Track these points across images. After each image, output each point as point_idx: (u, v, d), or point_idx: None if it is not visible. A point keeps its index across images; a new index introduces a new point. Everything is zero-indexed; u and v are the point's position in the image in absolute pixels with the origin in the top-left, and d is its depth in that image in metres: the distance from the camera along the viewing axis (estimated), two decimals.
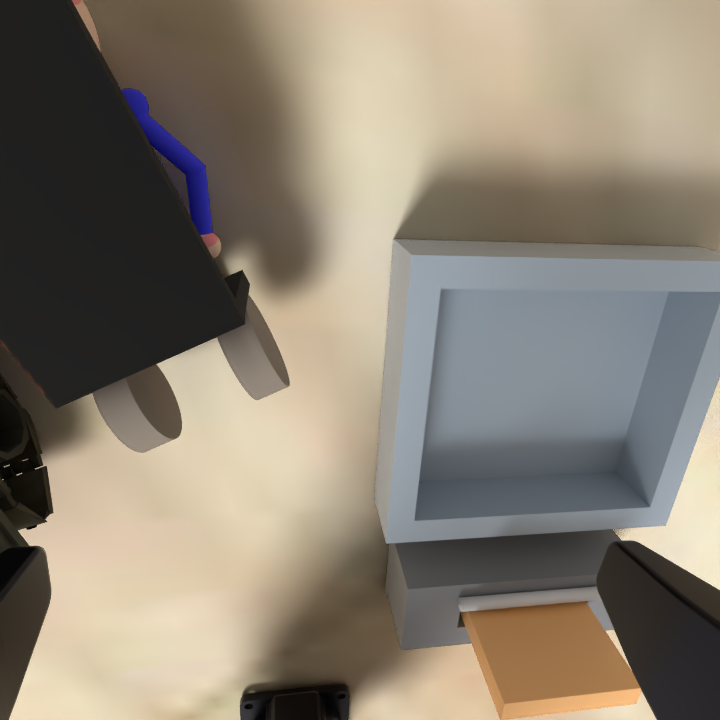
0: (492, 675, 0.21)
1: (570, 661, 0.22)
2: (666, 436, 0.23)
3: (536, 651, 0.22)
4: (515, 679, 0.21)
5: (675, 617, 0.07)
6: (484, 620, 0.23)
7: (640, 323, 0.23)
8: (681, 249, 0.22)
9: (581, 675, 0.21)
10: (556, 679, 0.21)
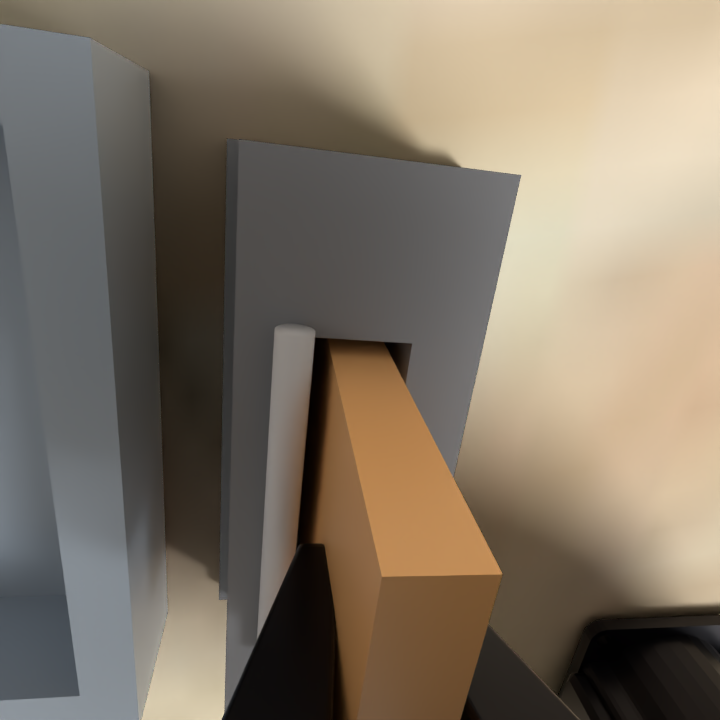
0: None
1: None
2: None
3: None
4: None
5: None
6: None
7: None
8: None
9: (341, 679, 0.05)
10: None
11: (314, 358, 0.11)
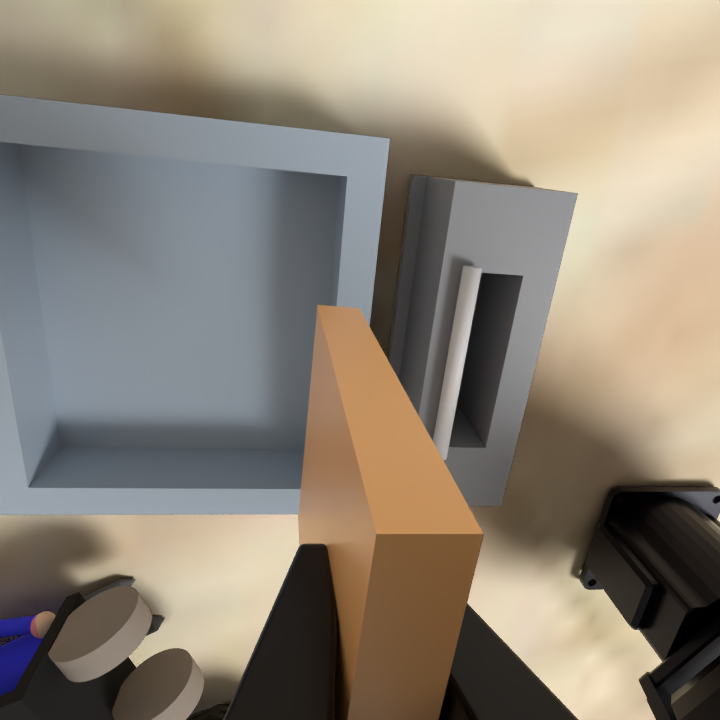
0: None
1: None
2: None
3: None
4: None
5: None
6: None
7: (96, 179, 0.17)
8: None
9: (340, 647, 0.06)
10: None
11: (314, 363, 0.12)
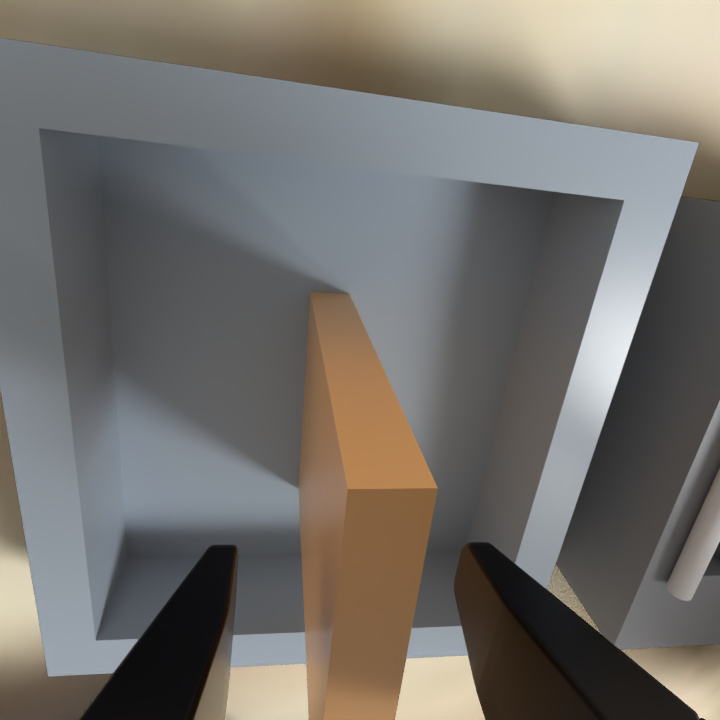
0: None
1: (322, 563, 0.08)
2: None
3: (314, 594, 0.09)
4: (313, 717, 0.08)
5: (501, 623, 0.07)
6: (305, 587, 0.11)
7: (209, 193, 0.11)
8: None
9: (326, 589, 0.07)
10: (321, 652, 0.07)
11: (308, 346, 0.13)
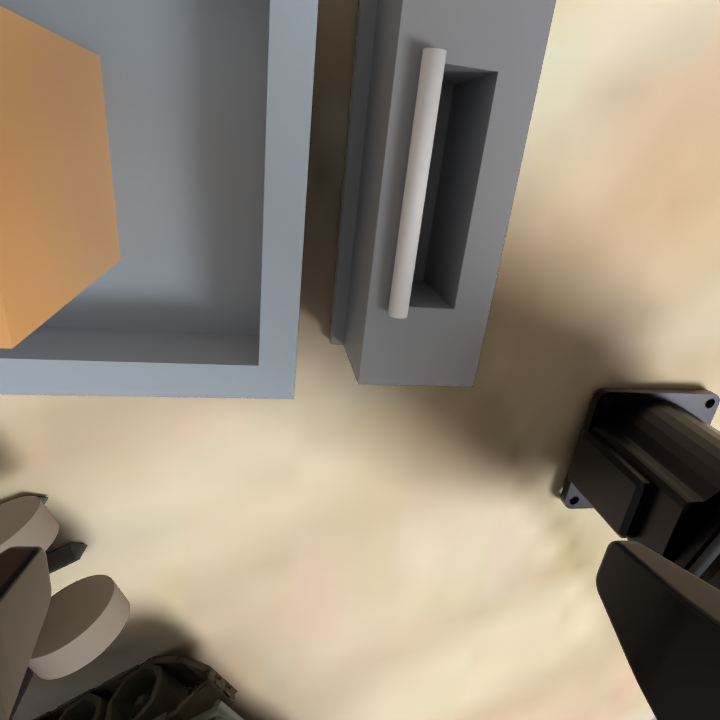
0: None
1: None
2: None
3: None
4: None
5: (675, 617, 0.07)
6: None
7: None
8: None
9: None
10: None
11: None
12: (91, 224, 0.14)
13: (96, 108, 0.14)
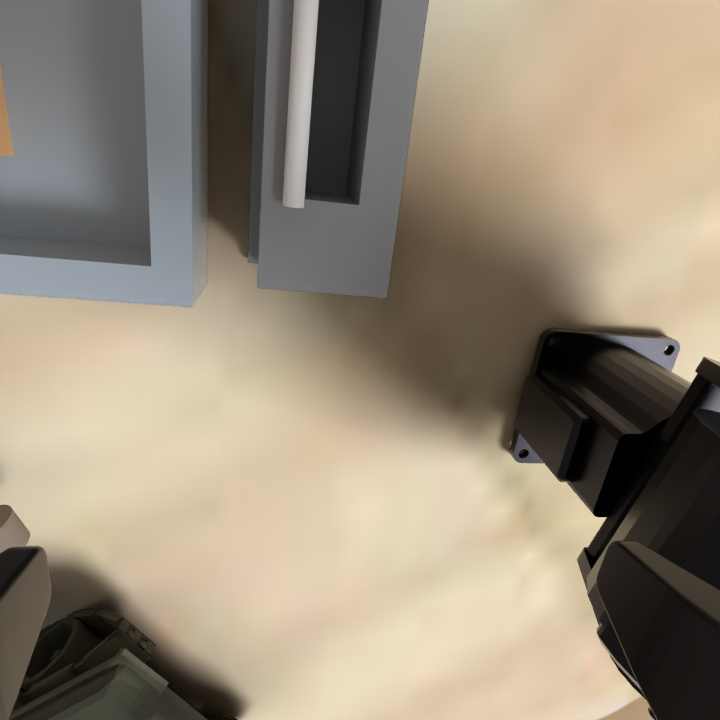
0: None
1: None
2: None
3: None
4: None
5: (675, 617, 0.07)
6: None
7: None
8: None
9: None
10: None
11: None
12: None
13: None
